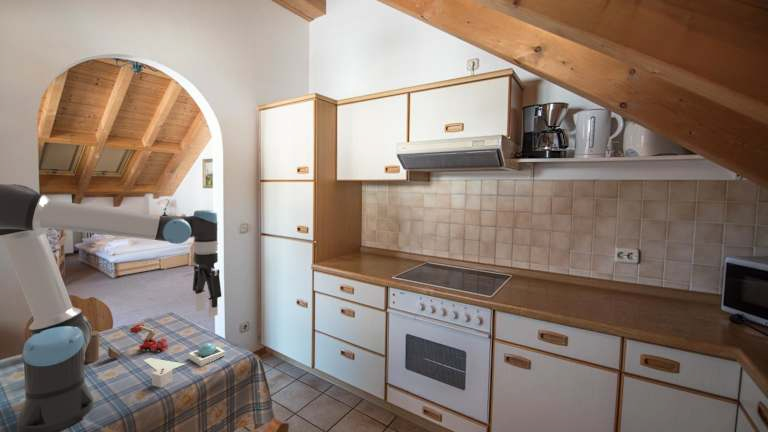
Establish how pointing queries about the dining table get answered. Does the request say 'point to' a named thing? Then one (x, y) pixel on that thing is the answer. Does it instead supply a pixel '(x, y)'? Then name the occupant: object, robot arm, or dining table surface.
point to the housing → (203, 361)
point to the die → (162, 377)
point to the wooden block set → (97, 349)
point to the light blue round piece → (207, 349)
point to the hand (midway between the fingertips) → (206, 312)
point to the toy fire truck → (150, 340)
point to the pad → (162, 363)
